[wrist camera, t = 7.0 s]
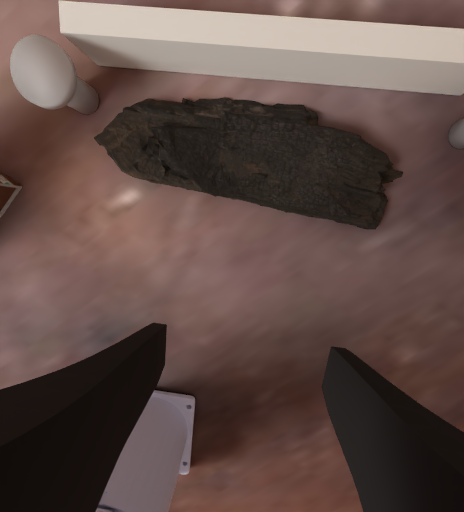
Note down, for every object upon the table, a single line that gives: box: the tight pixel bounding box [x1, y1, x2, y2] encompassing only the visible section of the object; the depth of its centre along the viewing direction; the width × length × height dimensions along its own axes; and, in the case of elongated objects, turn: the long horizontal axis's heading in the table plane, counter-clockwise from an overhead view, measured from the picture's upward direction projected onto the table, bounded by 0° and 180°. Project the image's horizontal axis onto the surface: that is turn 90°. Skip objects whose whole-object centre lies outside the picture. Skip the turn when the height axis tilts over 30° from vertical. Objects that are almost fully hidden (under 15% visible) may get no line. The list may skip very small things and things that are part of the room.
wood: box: [94, 98, 403, 229], centre depth 17 cm, size 22×7×3 cm, turn 78°
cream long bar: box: [10, 1, 464, 149], centre depth 15 cm, size 6×31×4 cm, turn 84°
